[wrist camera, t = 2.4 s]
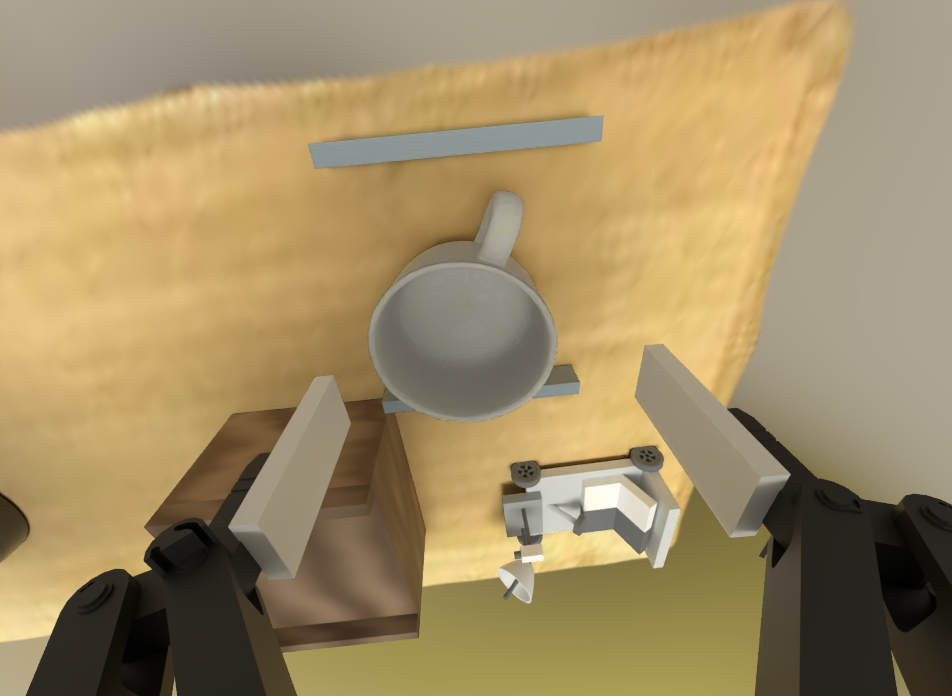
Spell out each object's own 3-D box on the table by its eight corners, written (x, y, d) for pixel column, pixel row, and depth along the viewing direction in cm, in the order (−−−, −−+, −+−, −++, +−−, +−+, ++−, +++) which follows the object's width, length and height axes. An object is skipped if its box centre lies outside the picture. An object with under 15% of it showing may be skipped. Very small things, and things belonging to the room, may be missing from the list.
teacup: (488, 376, 31) (498, 445, 24) (367, 327, 28) (340, 391, 21) (584, 230, 25) (635, 267, 18) (444, 146, 22) (441, 152, 15)
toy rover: (504, 622, 35) (493, 560, 29) (493, 527, 43) (484, 463, 37) (686, 600, 35) (714, 532, 29) (640, 509, 43) (654, 442, 37)
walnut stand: (307, 542, 42) (267, 654, 33) (232, 414, 31) (143, 527, 22) (425, 529, 42) (418, 637, 33) (390, 397, 31) (366, 503, 22)
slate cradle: (389, 394, 31) (385, 413, 29) (322, 143, 21) (307, 143, 19) (570, 375, 31) (578, 393, 29) (588, 117, 21) (603, 115, 19)
